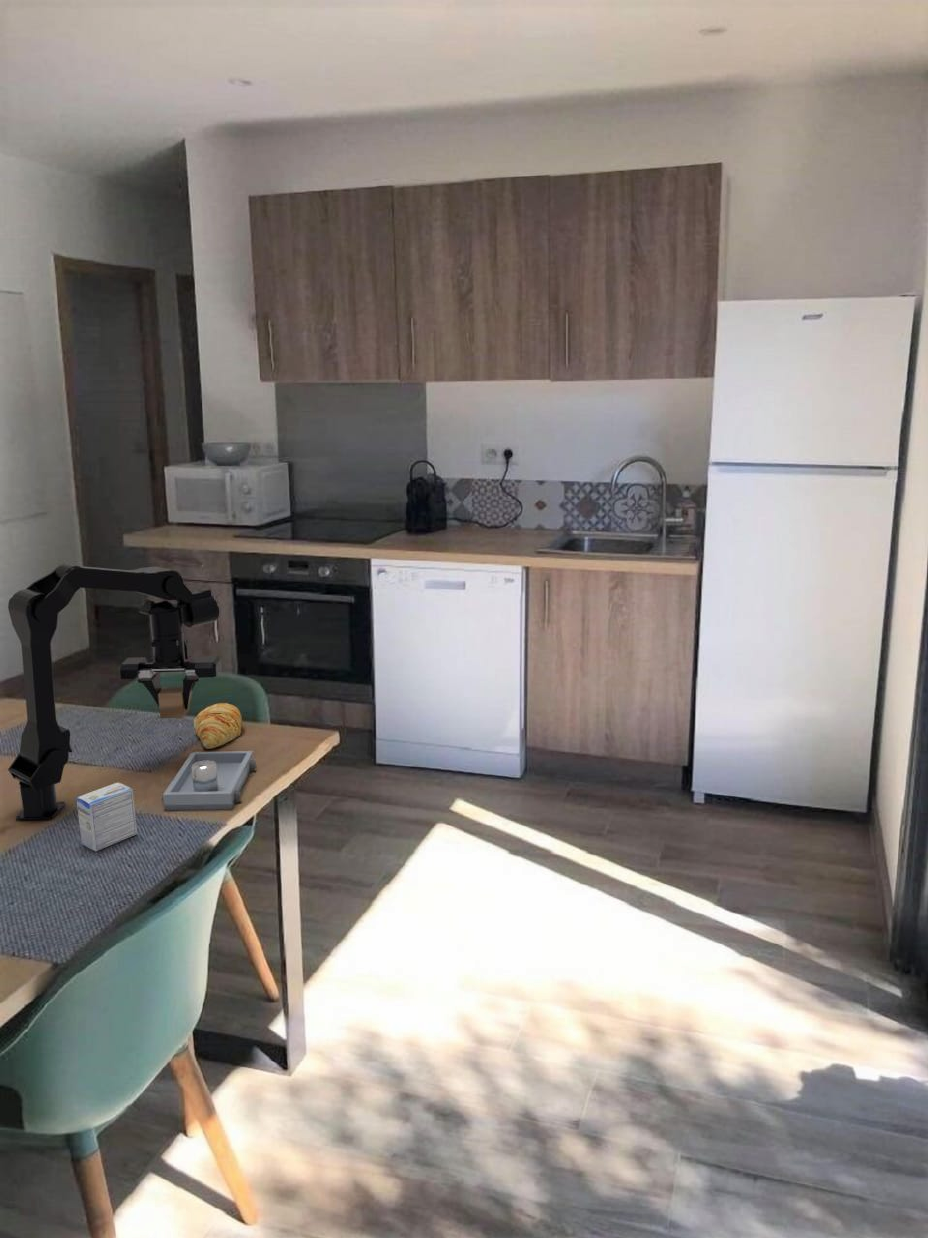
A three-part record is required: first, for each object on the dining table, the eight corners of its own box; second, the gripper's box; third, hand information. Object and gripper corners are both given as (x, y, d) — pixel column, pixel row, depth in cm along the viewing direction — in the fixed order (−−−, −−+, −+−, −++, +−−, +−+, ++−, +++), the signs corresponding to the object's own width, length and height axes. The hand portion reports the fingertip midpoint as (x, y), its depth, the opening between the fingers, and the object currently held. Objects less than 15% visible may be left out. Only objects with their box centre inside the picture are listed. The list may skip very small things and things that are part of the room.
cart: (237, 809, 177) (236, 793, 176) (158, 810, 177) (157, 795, 176) (258, 765, 197) (257, 750, 196) (188, 766, 197) (186, 752, 196)
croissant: (224, 768, 204) (240, 736, 203) (178, 748, 203) (193, 715, 201) (241, 729, 225) (256, 699, 223) (200, 711, 223) (214, 681, 221)
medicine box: (123, 828, 171) (118, 781, 169) (138, 835, 168) (133, 787, 166) (81, 845, 165) (75, 797, 163) (95, 853, 162) (89, 804, 160)
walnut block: (183, 717, 193) (181, 693, 192) (160, 718, 193) (158, 694, 192) (189, 710, 198) (187, 686, 196) (166, 710, 197) (164, 686, 196)
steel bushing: (215, 795, 181) (213, 769, 179) (191, 795, 181) (188, 770, 179) (220, 785, 185) (218, 760, 184) (197, 785, 185) (194, 760, 184)
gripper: (225, 620, 199) (231, 694, 203) (131, 622, 199) (139, 696, 203) (212, 635, 188) (218, 713, 192) (113, 637, 188) (122, 715, 192)
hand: (174, 709), depth 195 cm, fingers closed on walnut block, 4 cm apart
